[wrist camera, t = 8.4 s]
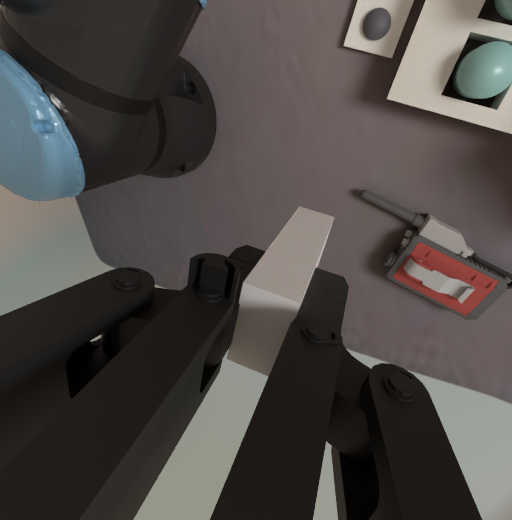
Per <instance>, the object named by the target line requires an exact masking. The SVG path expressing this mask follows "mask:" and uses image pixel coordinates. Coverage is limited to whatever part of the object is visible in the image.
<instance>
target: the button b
mask: <svg viewBox="0 0 512 520" xmlns="http://www.w3.org/2000/svg"><path fill="white" fill-rule="evenodd" d="M494 4H495V8H496V10H497V12H498V14H499V15H500V16H501V17H503V18H505V19H507V20H511V21H512V0H494Z"/></svg>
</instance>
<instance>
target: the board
mask: <svg viewBox="0 0 512 520" xmlns="http://www.w3.org/2000/svg"><path fill="white" fill-rule="evenodd" d="M484 2H485V0H426V1H425V3H424V6H423V8H422V11H421V14H420V16H419V19H418V21H417V24H416V26H415V29H414V31H413V34H412V36H411V39H410V41H409V44H408V46H407V49H406V51H405V54H404V56H403V59H402V61H401V64H400V66H399V69H398V71H397V74H396V77H395V79H394V82H393V84H392V87H391V89H390V92H389V94H388V97H387V99H389V100H392V101H396V102H399V103H403V104H407V105H410V106H414V107H417V108H421V109H424V110H428V111H432V112H435V113H439V114H442V115H446V116H450V117H453V118H457V119H460V120H464V121H467V122H471V123H475V124H478V125H482V126H485V127H489V128H492V129H496V130H500V131H503V132H507V133H510V134H512V83H511V84H510V85H509V86H508V87H507V88H506V89H505V90H504V91H502V92H501V93H499V94H497V95H496V97H495V99H494V100H493V102H492V104H491V106H490V108H488V107H484V106H480V105H477V104H473V103H469V102H466V101H462V100H458V99H454V98H451V97H447V96H443V95H441V94H442V92H443V90H444V88H445V85H446V83H447V81H448V79H449V77H450V75H451V73H452V71H453V68H454V66H455V64H456V62H457V60H458V58H459V56H460V54H461V51H462V49H463V47H464V45H465V43H466V41H467V39H468V38H470V39H474V40H478V41H483V42H487V43H489V42H495V41H501V42H505V43H508V44H510V45H511V46H512V26H511V25H507V24H502V23H498V22H493V21H489V20H484V19H480V18H477V17H478V15H479V13H480V11H481V9H482V7H483V5H484Z"/></svg>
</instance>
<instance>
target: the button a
mask: <svg viewBox="0 0 512 520" xmlns="http://www.w3.org/2000/svg"><path fill="white" fill-rule="evenodd" d="M452 81H453V86H454V88H455V90H456V92H457V93H458V94H460V95H461V96H463V97H466V98H479V99H483V98H489V97H493V96H495V95H497V94H499V93H501V92H502V91H504V90H505V89H506V88H507V87H508V86H509V85H510V84H511V83H512V46H511V45H510V44H508V43H505V42H501V41H495V42H489V43H486V44H484V45H482V46H480V47H478V48H476V49H474V50H473V51H471V52H469V53H468V54H466V55H465V56H464V57H463V58H462V59H461V60H460V61H459V62H458V64H457V66H456V67H455V70H454V73H453V80H452Z"/></svg>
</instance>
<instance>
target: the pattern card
mask: <svg viewBox="0 0 512 520" xmlns="http://www.w3.org/2000/svg"><path fill="white" fill-rule="evenodd" d="M413 2H414V0H358V1H357V4H356V7H355V11H354V14H353V17H352V20H351V23H350V26H349V30H348V33H347V36H346V39H345V42H344V47H348V48H352V49H356V50H360V51H364V52H368V53H372V54H376V55H380V56H383V57H387V58H391V59H392V57H393V54H394V52H395V49H396V47H397V44H398V41H399V39H400V36H401V33H402V31H403V28H404V26H405V23H406V20H407V18H408V15H409V13H410V10H411V7H412V5H413Z"/></svg>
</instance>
